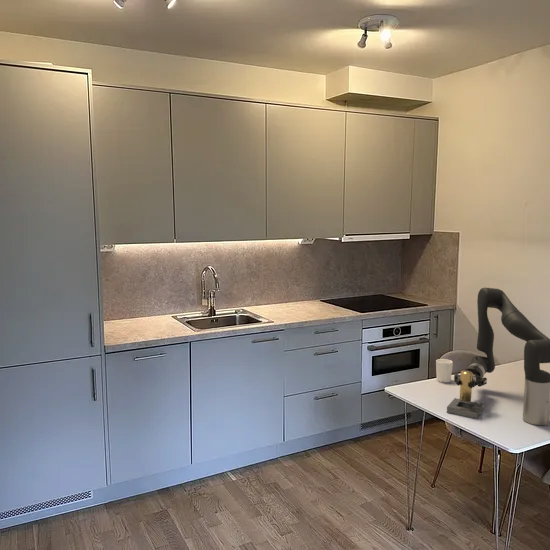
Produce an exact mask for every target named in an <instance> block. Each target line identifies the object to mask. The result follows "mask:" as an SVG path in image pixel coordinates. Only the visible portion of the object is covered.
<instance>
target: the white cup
mask: <svg viewBox="0 0 550 550" xmlns="http://www.w3.org/2000/svg"><path fill="white" fill-rule="evenodd" d="M435 372H436V381H437V382H440V383H450V382H451V381H452V373H453V361H452V360H451V359H447V358H439V359H436V360H435Z"/></svg>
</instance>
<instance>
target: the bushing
mask: <svg viewBox="0 0 550 550" xmlns="http://www.w3.org/2000/svg"><path fill="white" fill-rule="evenodd" d="M460 375H461V378H460V385H459V399H460V400H461V401H464V402H470V401H472V394H473V393H472V391H473V390H472V389H473V387H472V388H470V383H471V381H472V372H470V371H465V370H461V371H460Z"/></svg>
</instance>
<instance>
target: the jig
mask: <svg viewBox="0 0 550 550" xmlns="http://www.w3.org/2000/svg"><path fill="white" fill-rule="evenodd" d="M484 407H485V406H484V403H481V402H476V401H472V400H471V401H470V402H464V401H461V400H460V398H453V399H452V400H451V402H450V403H449V404H448V405H447V406H446V413H448V414H452V415H456V416H461V417H465V418H471V419H476V420H477V419H478V418H479V416H480V413H481V414H482V412H483V411H484Z"/></svg>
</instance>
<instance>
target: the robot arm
mask: <svg viewBox="0 0 550 550" xmlns="http://www.w3.org/2000/svg"><path fill="white" fill-rule="evenodd" d="M476 304H477V321H478V325H477V327H478V329H477V330H478V331H477V341H476V349H477V350H478V351H479V352H481V353H484V354H485V355H486V356H481V355H474V356H472V357H471V360H470V365H469V366H467V367H466V368H465V369H464V371H470V372H472V381H471V383H470V388H472V389H473V388H475V387H476V386H477V387H482V386H485V385H487V384H488V383H487V382H488V381H487V380H488V378H487V377H485V375H486V374H487V373H488V374H489V373H490V374H491V373H493V372H494V370H495V368H496V364H495V362H496V361H495V357H494V340H495V332H494V329H493V327H492V325H491V322H490V319H489V316H488V310H489V308H490V309H497V310H498V311H499V312H500V313H501V316H500V321H501V324H502V325H503V326H504V328H505V329H506V331H508V332H509V333H510V335H512V336H514V337H516V338H518V339H520V340H522V341H525V342H526V343H525V345H524V348H523V371H524V388H523V406H522V420H523V421H524V422H526V423H528V424H530V425H535V426H547V427H548V425H549V422H550V372H548V371H546V370H543V369H541V366H540V364H550V338H549V337H548V336H547V335H546V334H544V333H543V332H542V331H540V330H539V329H538V328H537V327H536V326H535V325H534V324H533V323H532V322H530V320H529V319H528V318H527V317H526V316H525V315H524V314H523V313H522V312H521V311H520V310H519V309H518V308H517V307H516V306H515V304H513V302H512V301H511V300H510V298H509V297H508V296H507V294H506V293H505V292H504V291H503V290H501V289H499V288H494V287H493V288H492V287H482V288H480V289H479V290H478V294H477V303H476ZM453 376H454V377H453V380H454V381H453V382H454V383H455V384H456V385H457V386H459V387H460V378H461V374H459V373H458V372H454V373H453Z"/></svg>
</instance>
